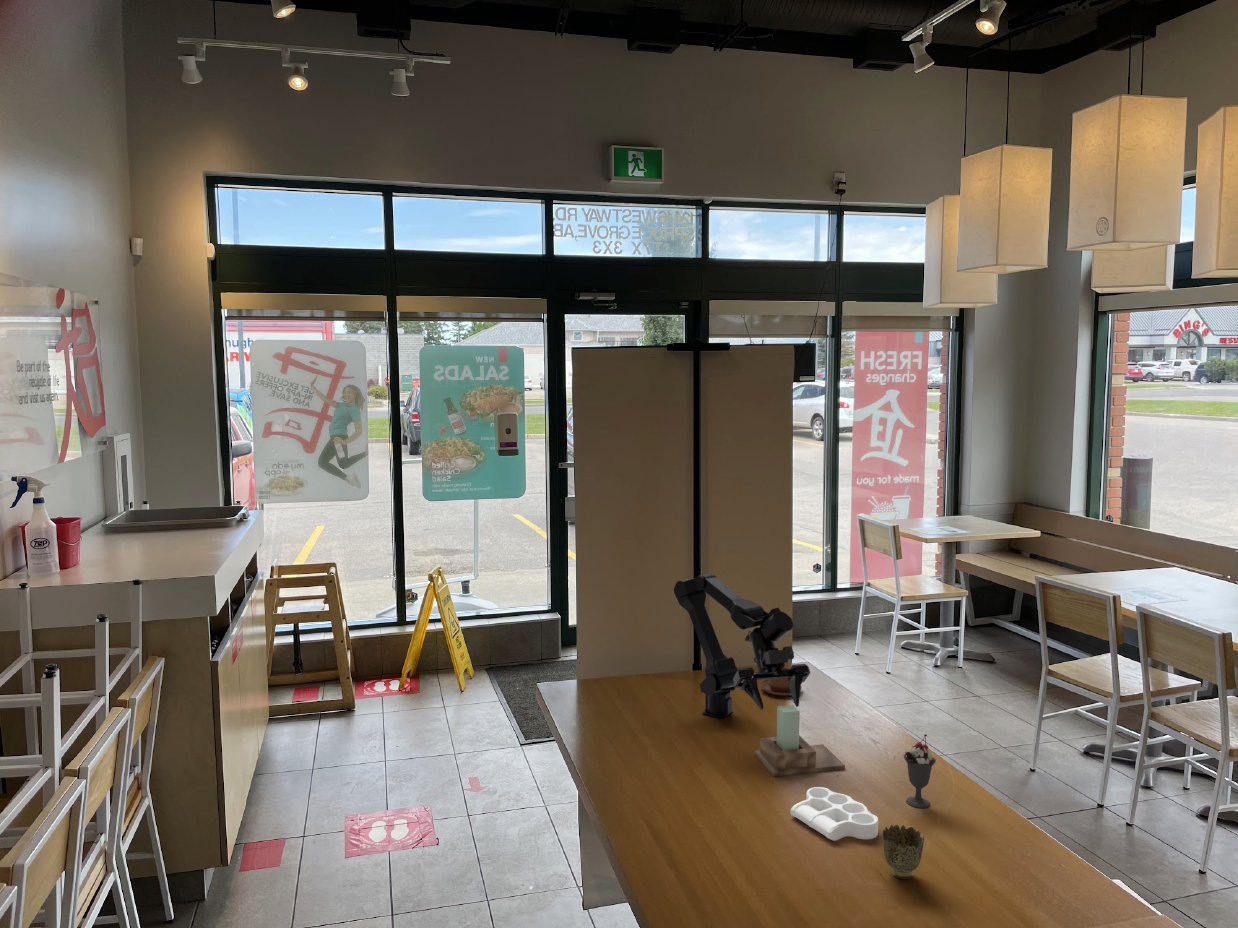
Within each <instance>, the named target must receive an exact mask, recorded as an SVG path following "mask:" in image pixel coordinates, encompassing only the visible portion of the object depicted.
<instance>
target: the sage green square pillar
mask: <svg viewBox="0 0 1238 928" xmlns="http://www.w3.org/2000/svg"><path fill="white" fill-rule="evenodd" d="M800 713H801V712H800V710H799V709H798V707H796V706H795V705H794V704H789V705H788V704H787V705H778V706H776V737H777V747H778V748H779V749H780V750H781V751H784V750H795V749H799V736H800Z"/></svg>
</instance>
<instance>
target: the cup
mask: <svg viewBox="0 0 1238 928" xmlns="http://www.w3.org/2000/svg"><path fill="white" fill-rule="evenodd" d="M881 833H882V834H881V835H882V847H883V854H884V855H883V856H884V859H885V860H886V863H887V864H888V865H889V867H891V869H890V870H891V872H892V875H893V876H894V877H896V878H897V879H900V880H908V879H910V878H911V876H912V875H913V871H915V870H916V869H917V868H918V866H919V865H920V863H921V860H922V854H923V849H924V842H925V836H921V832H920V830H917V831H916V829H915V828H914V827H912V826H910V827H907V828H906V826H905V825H903V824H902V826H901V827H900V826H899V825H897V824H895V825H894V826H893V824H891V825H890V827H889V828H888V827H887V826H885V829H882V831H881Z"/></svg>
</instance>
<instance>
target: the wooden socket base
mask: <svg viewBox="0 0 1238 928" xmlns="http://www.w3.org/2000/svg"><path fill="white" fill-rule="evenodd" d="M754 755H755V756H756V758H757V759H758V760H759V761H760V763H762V765H763V766H764V767H765V768H766V770H768V772H769V773H770V774H771V776H773V777H780V776H791V775H801V774H808V773H809V774H810V773H819V772H820V773H821V772H828V771H840V770H846V764H844V763H843V762H842V760H840V759H839V758H838V757H837V756H836V755H835V754H834V753H833V752H832V750H831V751H830V750H829V748H827V746H825V745H824V744H822V743H821V744H812V745H810V744H809V743H808V742H807V741H805V739H804V738H803V737H802V736H801V735H799V749H795V750H784V751H781V750H780V749H779V748H778V747H777V736H771V737H770V736H769V737H760V747H759V750H755V751H754Z"/></svg>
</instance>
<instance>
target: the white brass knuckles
mask: <svg viewBox="0 0 1238 928" xmlns="http://www.w3.org/2000/svg"><path fill="white" fill-rule="evenodd" d="M789 812H790V815H791V816H793V817H794V818H796V819H798V820H799V821H801V822H802V823H804V824H806V825H807V826H808V827H810V828H811V829H814V830H816V832H818V833H820V834H822V835H823V836H824V837H826V838H827V839H829V840H831V841H833V842H836V841H838V840H841V839H843V838H845V837H853V838H855V839H860V840H873V839H875V838H876V837H878V835H879V818H878V816H877V815H874V814H873V813H872V811H870V810H868V807H867V806H866V805H865V804H863V803H862V802H858V801H856V800H855V799H853V798H852V796H850V795H847V794H843V793H839V792H835V791H832V790H831V789H829V788H827V787H824V786H823V787H822V786H814V787H810V788H809V789H807V790H806V799H805V800H801V801H800V802H798V803H795V804H794V805H793V806H792V807H791V808H790V810H789Z"/></svg>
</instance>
